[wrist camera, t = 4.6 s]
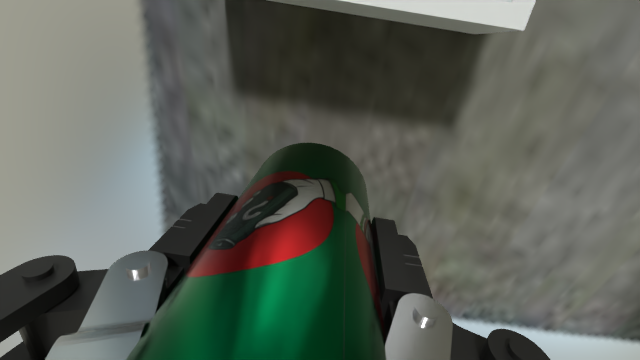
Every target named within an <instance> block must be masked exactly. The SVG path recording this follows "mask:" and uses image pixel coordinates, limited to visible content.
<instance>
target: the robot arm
mask: <svg viewBox="0 0 640 360" xmlns="http://www.w3.org/2000/svg"><path fill="white" fill-rule="evenodd" d="M237 200H238V197H237V196H235V195H229V194H222V193H216V194H215V195H214V196H213V197H212V198H211V199H210V201H209V202H208V203H207V204H201V203H200V204H198V205H196V206H194V207H192V208H190V209H188V210H187V211H186V212H185V213H184V214H183V215H182V216H181V217H180V220H177V221H176V222H175V224H174V225H173V227H171V228H170V229H169V230H168V231H167V232H166V233H165V234H164V235H163V236H162V237H161V238H160V239H159V240H158V241H157V242H156V243H155V244H154V245H153V246H152V247H151V248H150V249H149V250H148V251H139V252H134V253H131V254H128V255H126V256H124V257H122V258H120V259H118V260H117V261H116V262H114V263H113V264H112V265H111V267H110V268H109V269H105V270H91V271H79V272H78V271H77V269H76V266H75V263H74V261H73V260H72V259H71V258H69V257H66V256H60V255H54V256H45V257H41V258H37V259H33V260H30V261H28V262H25V263H23V264H21V265H19V266H17V267H15V268H13V269H11V270H9V271H7V272H6V273H4V274H2V275H0V342H2V341H3V340H5V339H6V338H8V337H9V336H11V335H12V334H14V333H15V332H17V331H18V330H19V332H20V334H21V337H22V339H23V342H21V343H20V344H19V345H17V346H16V347H14V348H13V349H12V350H10V351H9V352H7V353H6V354H5V355H3V356H2V357H1V358H0V360H126V358H127V357H128V355H129V354H130V353H131V351H132V350H133V348H134V347H135V346H136V344H137V343H138V341H139V340H140V338H141V336H142V335H143V333H144V331H145V329H146V328H147V326H148V324H149V322H150V321H151V319H152V318H153V316H154V315H155V314H156V312H157V311H158V309H159V308H160V307H161V305H162V304H163V303H164V301H165V300H166V298H167V297H168V296H169V294H170V293H171V291H172V290H173V289H174V287H175V286H176V284H177V283H178V282H179V280H180V279H181V277H182V276H183V275H184V273H185V272H186V271H187V269H188V268H189V266H190V265H191V264H192V262H193V261H194V259H195V258H196V257H197V255H198V254H199V252H200V251H201V250H202V248H203V247H204V245H205V244H206V243H207V241H208V240H209V239H210V237H211V236H212V234H213V233H214V232H215V230H216V229H217V227H218V226H219V225H220V223H221V222H222V220H223V219H224V218H225V216H226V215H227V214H228V212H229V211H230V209H231V208H232V207H233V205H234V204H235V202H236V201H237ZM371 229H372V237H373V244H374V252H375V260H376V268H377V276H378V284H379V291H380V299H381V307H382V315H383V323H384V331H385V338H386V344H385V351H386V360H550V359H549V357H548V356H547V355H546V354H545V353H544V352H543V351H542V349H541V348H539V347H538V346H537V345H536V344H535V343H534V342H532V341H531V340H529V339H528V338H526V337H525V336H523V335H521V334H519V333H517V332H514V331H511V330H506V329H496V330H493V331H492V332H491V333H490V334H489V336H488V338H484V337H482V336H480V335H477V334H475V333H473V332H470V331H468V330H465V329H463V328H461V327H459V326H457V325H456V324H454V323H453V322H452V319H451V316H450V314H449V313H448V311H447V310H446V309H445V308H444V307H443V306H442V305H441V304H440V303H439V302H437V301H436V300H434V299H433V297H432V294H431V291H430V288H429V285H428V282H427V279H426V276H425V273H424V270H423V267H422V264H421V261H420V258H419V255H418V252H417V248H416V246H415V245H414V243H413V242H412V241H411V240H410V239H409V238H408V237H407V236H404V235H398V233H397V229H396V225H395V221H394V220H388V219H382V218H375V217H374V218H373V220H372V224H371Z"/></svg>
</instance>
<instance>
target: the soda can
mask: <svg viewBox="0 0 640 360" xmlns="http://www.w3.org/2000/svg"><path fill="white" fill-rule="evenodd" d="M385 344H386V338H385V331H384V323H383V315H382V307H381V299H380V291H379V284H378V276H377V268H376V260H375V252H374V244H373V237H372V229H371V221H370V213H369V205H368V198H367V190H366V184H365V181H364V179H363V176H362V174H361V172H360V171H359V169H358V168H357V166H356V165H355V164H354V163H353V162H352V161H351V160H350V159H349V158H348V157H347V156H346V155H344V154H343V153H341V152H340V151H338V150H336V149H334V148H332V147H329V146H326V145H322V144H317V143H299V144H293V145H290V146H287V147H284V148H282V149H280V150H278V151H276V152H275V153H274V154H272V155H271V156H270V157H269V158H268V159H267V160H266V161H265V162H264V163H263V165H262V166H261V168H260V169H259V170H258V172H257V173H256V175H255V176H254V177H253V179H252V180H251V182H250V183H249V184H248V186H247V187H246V188H245V190H244V191H243V193H242V194H241V195H240V197H239V198H238V200H237V201H236V202H235V204H234V205H233V207H232V208H231V209H230V211H229V212H228V214H227V215H226V216H225V218H224V219H223V220H222V222H221V223H220V225H219V226H218V227H217V229H216V230H215V232H214V233H213V234H212V236H211V237H210V239H209V240H208V241H207V243H206V244H205V245H204V247H203V248H202V250H201V251H200V252H199V254H198V255H197V257H196V258H195V259H194V261H193V262H192V264H191V265H190V266H189V268H188V269H187V271H186V272H185V273H184V275H183V276H182V277H181V279H180V280H179V282H178V283H177V284H176V286H175V287H174V289H173V290H172V291H171V293H170V294H169V296H168V297H167V298H166V300H165V301H164V303H163V304H162V305H161V307H160V308H159V309H158V311H157V312H156V314H155V315H154V316H153V318H152V319H151V321H150V322H149V324H148V326H147V328H146V329H145V331H144V333H143V335H142V336H141V338H140V340H139V341H138V343H137V344H136V346H135V347H134V348H133V350H132V351H131V353H130V354H129V355H128V357H127V358H126V360H386V351H385Z"/></svg>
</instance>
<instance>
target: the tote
mask: <svg viewBox="0 0 640 360" xmlns="http://www.w3.org/2000/svg"><path fill="white" fill-rule="evenodd" d="M268 1H274V2H280V3H286V4H292V5H298V6H304V7H311V8H317V9H323V10H329V11H335V12H341V13H347V14H353V15H360V16H366V17H372V18H378V19H384V20H390V21H396V22H402V23H409V24H415V25H421V26H427V27H433V28H439V29H445V30H451V31H458V32H464V33H470V34H485V33H499V32H512V31H524V29H525V27H526V24H527V22H528V19H529V16H530V14H531V11H532V9H533V6H534V4H535V1H536V0H268Z"/></svg>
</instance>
